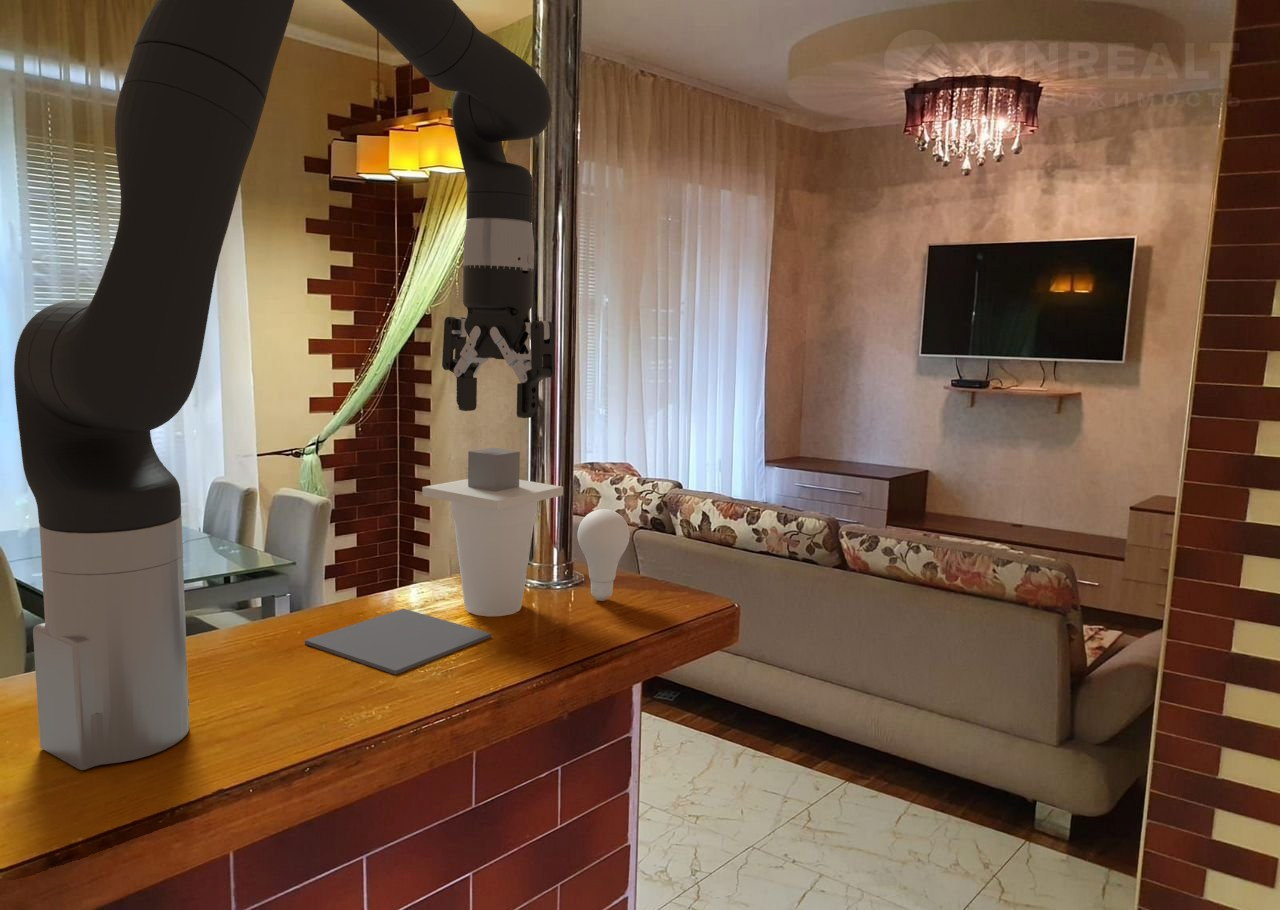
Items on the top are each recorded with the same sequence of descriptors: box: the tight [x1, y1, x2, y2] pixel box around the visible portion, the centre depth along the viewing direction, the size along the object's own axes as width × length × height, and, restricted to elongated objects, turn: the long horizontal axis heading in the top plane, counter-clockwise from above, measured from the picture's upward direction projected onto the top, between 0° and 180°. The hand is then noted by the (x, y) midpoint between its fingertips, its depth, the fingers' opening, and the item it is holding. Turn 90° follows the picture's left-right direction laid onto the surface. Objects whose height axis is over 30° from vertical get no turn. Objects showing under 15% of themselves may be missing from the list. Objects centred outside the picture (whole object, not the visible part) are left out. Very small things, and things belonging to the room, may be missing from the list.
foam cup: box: [450, 501, 538, 617], centre depth 106 cm, size 10×9×13 cm
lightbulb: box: [576, 508, 631, 602], centre depth 110 cm, size 6×6×11 cm
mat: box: [304, 608, 492, 676], centre depth 96 cm, size 13×13×1 cm
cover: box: [421, 447, 564, 510], centre depth 105 cm, size 11×11×5 cm
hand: (496, 414), depth 104 cm, fingers open, 8 cm apart
